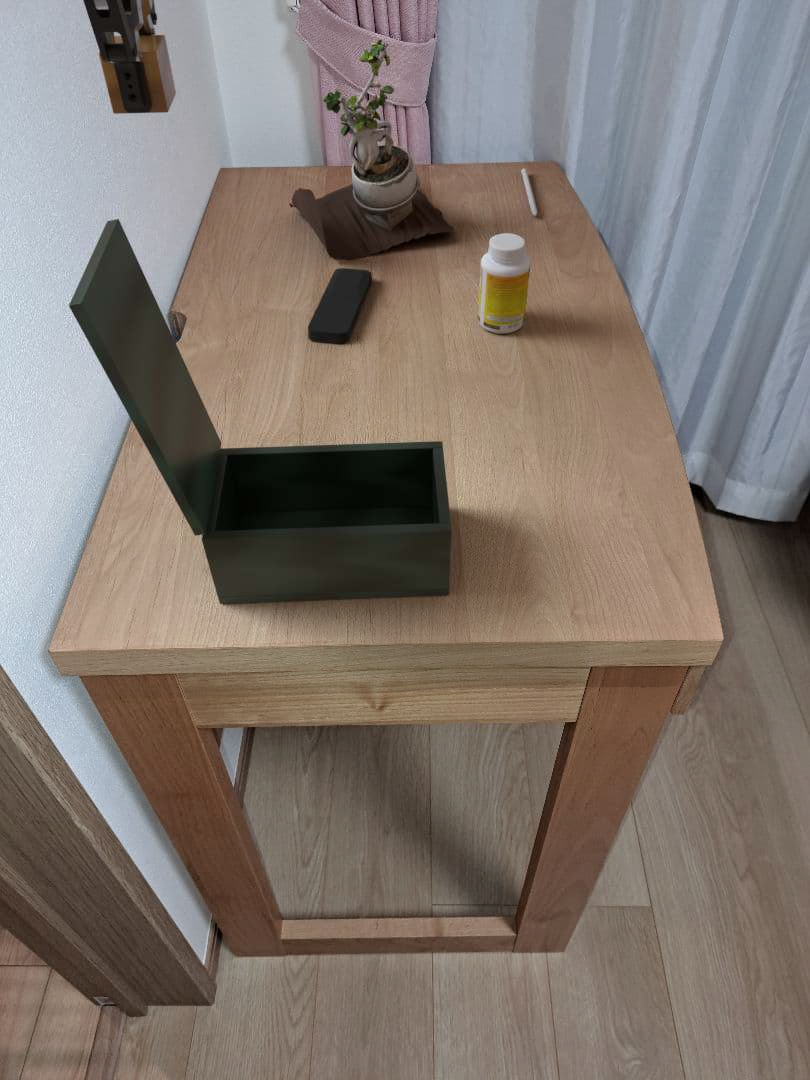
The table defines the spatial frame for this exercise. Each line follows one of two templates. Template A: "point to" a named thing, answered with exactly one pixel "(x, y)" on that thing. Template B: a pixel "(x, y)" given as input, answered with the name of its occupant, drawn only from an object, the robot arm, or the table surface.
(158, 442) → the lid
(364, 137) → the potted plant
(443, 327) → the table surface
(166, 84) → the block
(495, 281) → the supplement bottle
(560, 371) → the table surface
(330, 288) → the remote control
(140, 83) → the robot arm
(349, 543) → the chest
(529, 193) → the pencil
